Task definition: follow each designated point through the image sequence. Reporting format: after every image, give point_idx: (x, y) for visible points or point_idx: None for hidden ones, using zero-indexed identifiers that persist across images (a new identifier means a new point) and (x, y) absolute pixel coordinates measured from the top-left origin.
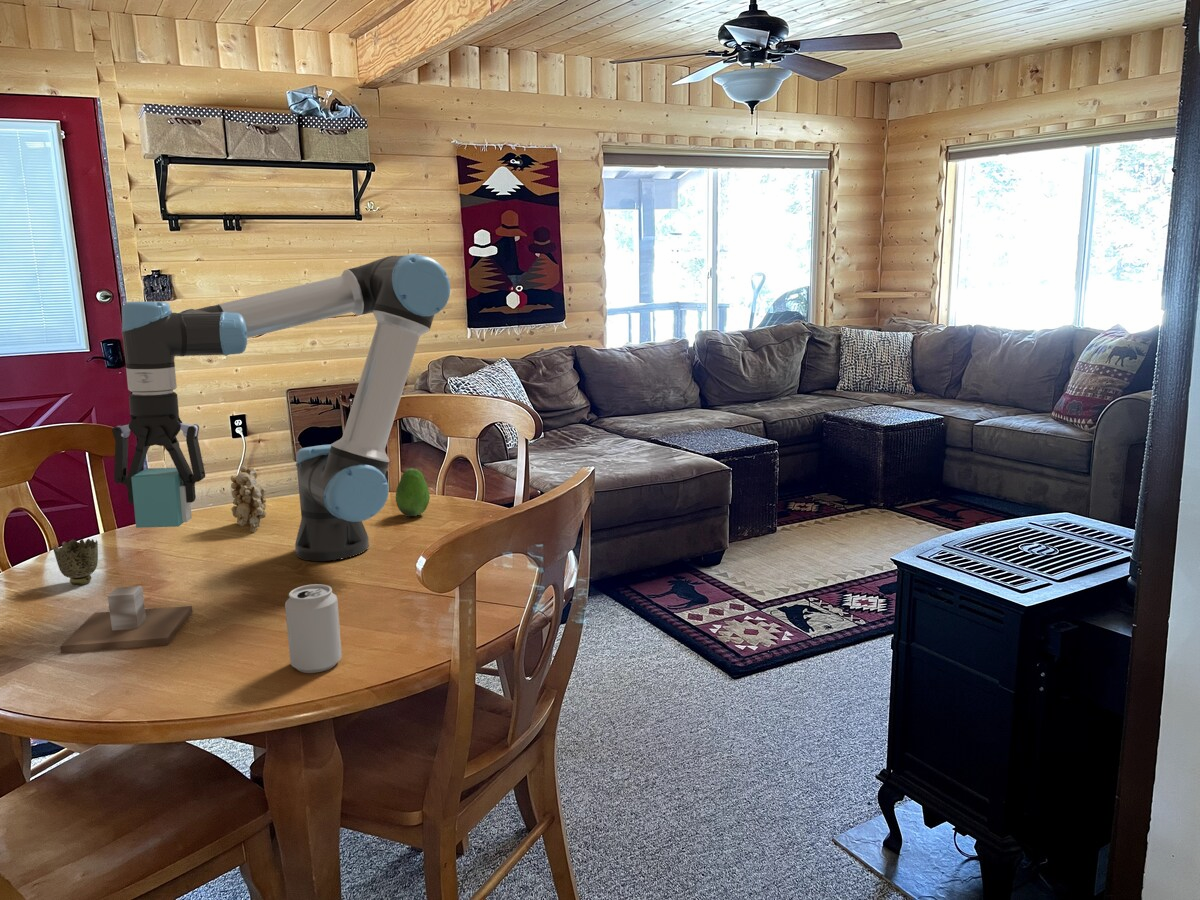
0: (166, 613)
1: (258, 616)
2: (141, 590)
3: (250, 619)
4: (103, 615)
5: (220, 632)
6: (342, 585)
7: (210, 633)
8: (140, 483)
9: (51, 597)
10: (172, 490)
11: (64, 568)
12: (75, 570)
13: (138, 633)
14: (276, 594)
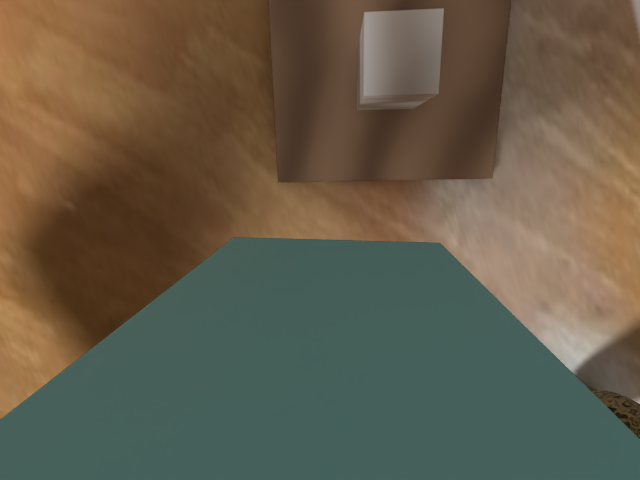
0: (321, 141)
1: (127, 129)
2: (362, 88)
3: (138, 113)
4: (466, 154)
5: (177, 41)
6: (16, 282)
7: (197, 38)
8: (508, 437)
9: (618, 328)
10: (132, 342)
11: (637, 403)
12: (606, 397)
13: (346, 12)
14: (136, 255)
